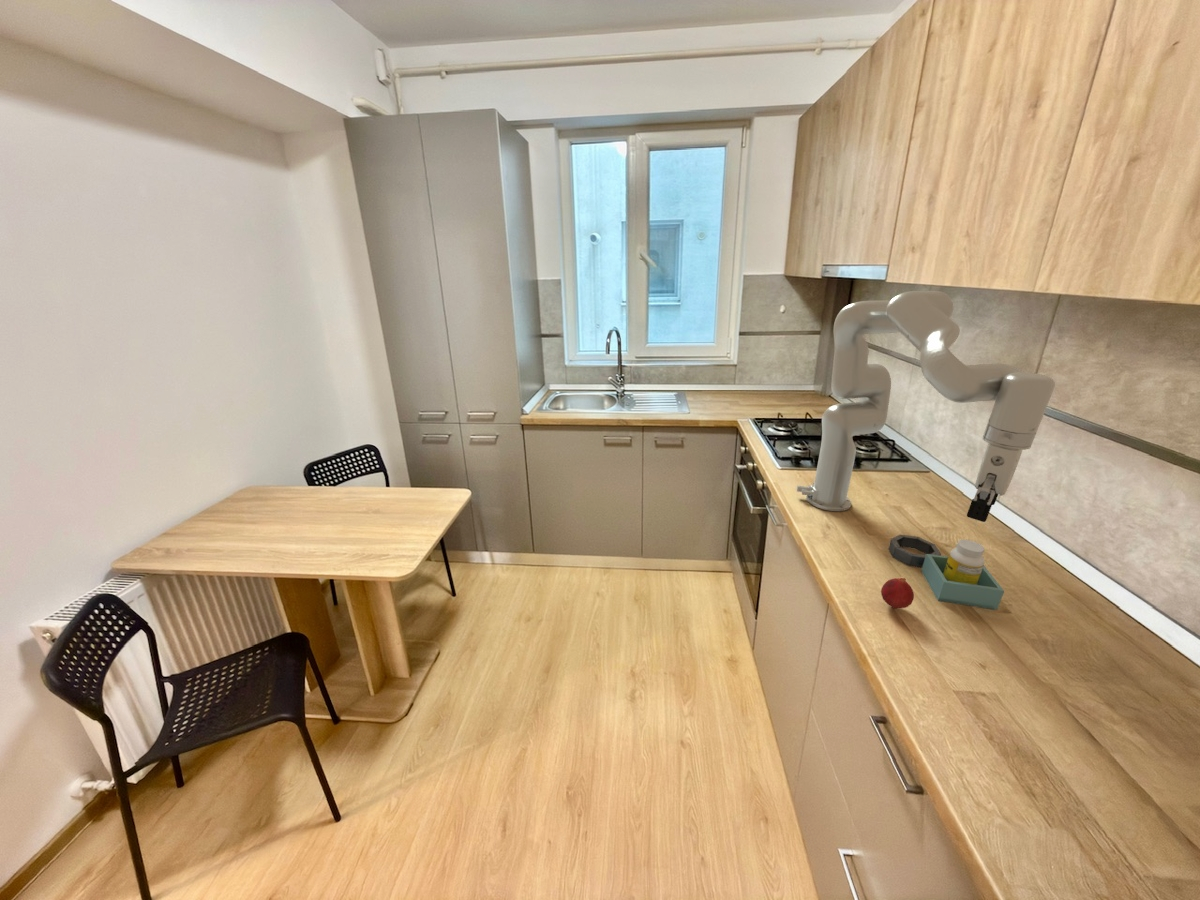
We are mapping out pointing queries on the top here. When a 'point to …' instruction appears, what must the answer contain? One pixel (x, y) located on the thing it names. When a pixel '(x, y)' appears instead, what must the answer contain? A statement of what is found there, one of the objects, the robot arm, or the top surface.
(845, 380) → the robot arm
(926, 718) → the top surface
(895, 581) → the onion
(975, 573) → the pill bottle
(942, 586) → the bin
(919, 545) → the socket collar
